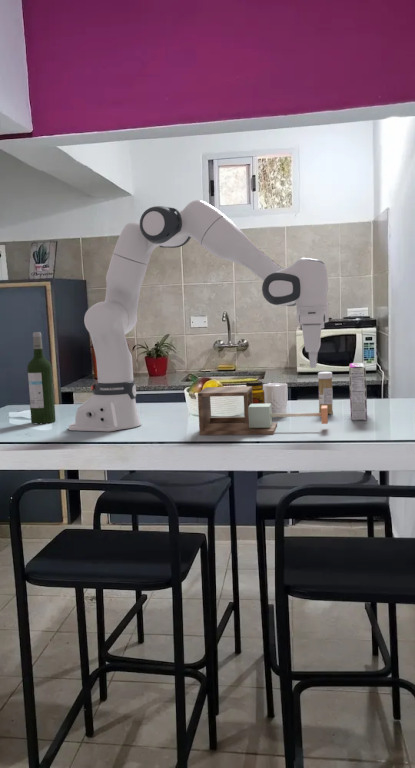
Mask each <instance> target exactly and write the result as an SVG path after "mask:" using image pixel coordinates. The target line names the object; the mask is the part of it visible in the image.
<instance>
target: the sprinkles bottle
mask: <svg viewBox="0 0 415 768" xmlns="http://www.w3.org/2000/svg"><path fill="white" fill-rule="evenodd" d="M317 379H318V413H321V407H322V406H325V405H327V413H328V415H332V414H333V413H334V411H333V410H334V409H333V401H334V400H333V398H334V397H333V372H332V371H319V372H317Z"/></svg>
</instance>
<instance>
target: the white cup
mask: <svg viewBox="0 0 415 768" xmlns="http://www.w3.org/2000/svg"><path fill="white" fill-rule="evenodd" d="M263 390H264V397H265V404H267V403H271V411H272V414H277V413H287V406H288V383H285V382H272V383H271V382H269V383H264V384H263Z"/></svg>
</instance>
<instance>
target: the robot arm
mask: <svg viewBox="0 0 415 768" xmlns="http://www.w3.org/2000/svg"><path fill="white" fill-rule="evenodd" d="M140 216H141V217H140V220H139V221H131V222H128V223H127V224H125V225H124V226H123V229H122V230H121V233H120V234H119V236H118V239H117V241H116V243H115V246H114V250H113V251H112V255H111V259H110V263H109V266H108V269H107V273H106V275H105V281H106V283H105V284H106V289H105V299H104V301H99V302H97V303H95V304H92V306H90V307H89V308H88V309H87V310H86V311H85V313H84V319H83V321H84V323H83V324H84V326H85V328H86V330H87V331H88V334H89V337H90V340H91V343H92V346H93V350H94V356H95V361H96V371H97V372H96V374H97V376H96V377H97V382H95V383H94V384H93V385H91V386H90V390H91V391H92V395H91V396H90V397H88V398H87V399H86V400H85V401H83V403H82V404H81V405H79V406H78V407H77V410H76V413H75V420H74V422H72V423H70V424H69V425H68V430H69V431H80V432H81V431H83V432H114V431H115V432H116V431H118V430H126V429H133V428H137V427H139V426H141V425H142V422H141V419H140V417H139V412H138V407H137V402H136V397H137V387H136V380H135V379H134V368H133V367H134V366H133V356H132V352H131V351H130V348H129V345H128V341H127V338H126V337H127V336H126V335H127V334H128V333H130V332H131V331H133V330H134V328H135V327H136V325H137V323H138V314H137V313H138V310H139V309H138V307H139V302H140V293H141V289H142V285H143V282H144V279H145V275H146V272H147V269H148V265H149V263H150V260H151V256H152V254H153V252H154V250H155V249H156V248H157V247H159V248H170V249H171V248H173V249H174V248H179V247H183V246H185V245H186V244H187V243H189V242H190V240H191V239H193V240H194V241H196V242H197V243H198V244H199V245H200V246H201V247H202V248H204V249H205V250H206V251H207V252H209V253H210V254H211V255H213V256H215V257H217V258H219V259H220V260H224V261H227V262H232V263H235V264H237V265H240V266H243V267H245V268H247V270H249V271H251V272H252V273H253V274H254V275H256V276H257V277H258V278H260V279H261V280H262V281H263V282H262V286H261V292H262V293H261V294H262V295H263V297H264V300H265V301H266V302H267V303H269V304H271V305H274V306H278V307H279V306H281V307H285V306H286V307H294V306H295V307H296V323H297V324H299V325H301V330H302V337H303V345H304V350H305V352H306V353H308V359H309V368H310V369H313V368H317V364H318V353H319V350H320V348H321V345H322V343H321V341H322V339H321V337H322V336H321V334H322V329H325V324H326V323H329V322H330V321H329V320H330V319H329V316H330V315H329V302H328V298H327V297H328V291H329V281H328V279H329V278H328V271H327V266H326V264H325V263H324V262H323V261H322V260H320V259H316V258H310V257H309V258H308V257H300V258H298V259H297V260H296V261H295V262H293V263H292V264H290V265H289V266H287V267H285V268H283V267H282V266H281V265H279V264H277V263H276V262H275V261H274V260H273V259H271V258H270V257H269V256H268V255H266V254H265V253H264V252H263V251H262V250H260V249H259V248H258V247H257V246H256V245H255V244H254V243H253V242H252V240H250V239H249V238H248V237H247V236H246V234H245V233H244V232H243V231H242V230H241V229H240V227H238V226H237V225H236V224H235V223H234V222H233V220H231V219H230V218H229V217H228V216H227V215H225V214H224V213H223V212H221V210H219V209H218V208H216V207H215V206H213V205H211V204H210V203H208V202H207V201H204V200H202V199H195V200H192V201H190V202H189V203H188V204H186V206H185V207H184V208H183V209H181V210H178V208H175V207H170V206H162V205H157V206H155V205H154V206H152V207H149V208H148V209H146V210H145V211H144V212H143V213H142V214H141V215H140Z"/></svg>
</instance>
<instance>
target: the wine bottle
mask: <svg viewBox="0 0 415 768" xmlns="http://www.w3.org/2000/svg"><path fill="white" fill-rule="evenodd" d="M32 341H33V343H32V344H33V357H32V358H31V359H30V361H29V362H28V364H27V366H26V369H27V370H26V371H27V382H28V395H29V407H30V408H29V410H30V421H31V424H32V423H38V424H37V425H45V424H44V423H48V424H53V423H55V422H56V411H55V410H56V408H55V406H56V405H55V393H54V381H53V367H52V364H51V362H50V361H49V360H48V359H47V358H45V356H44V350H43V341H42V333H41V331H38V332H37V331H35V332H33V333H32ZM52 422H53V423H52ZM40 423H42V424H40Z"/></svg>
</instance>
